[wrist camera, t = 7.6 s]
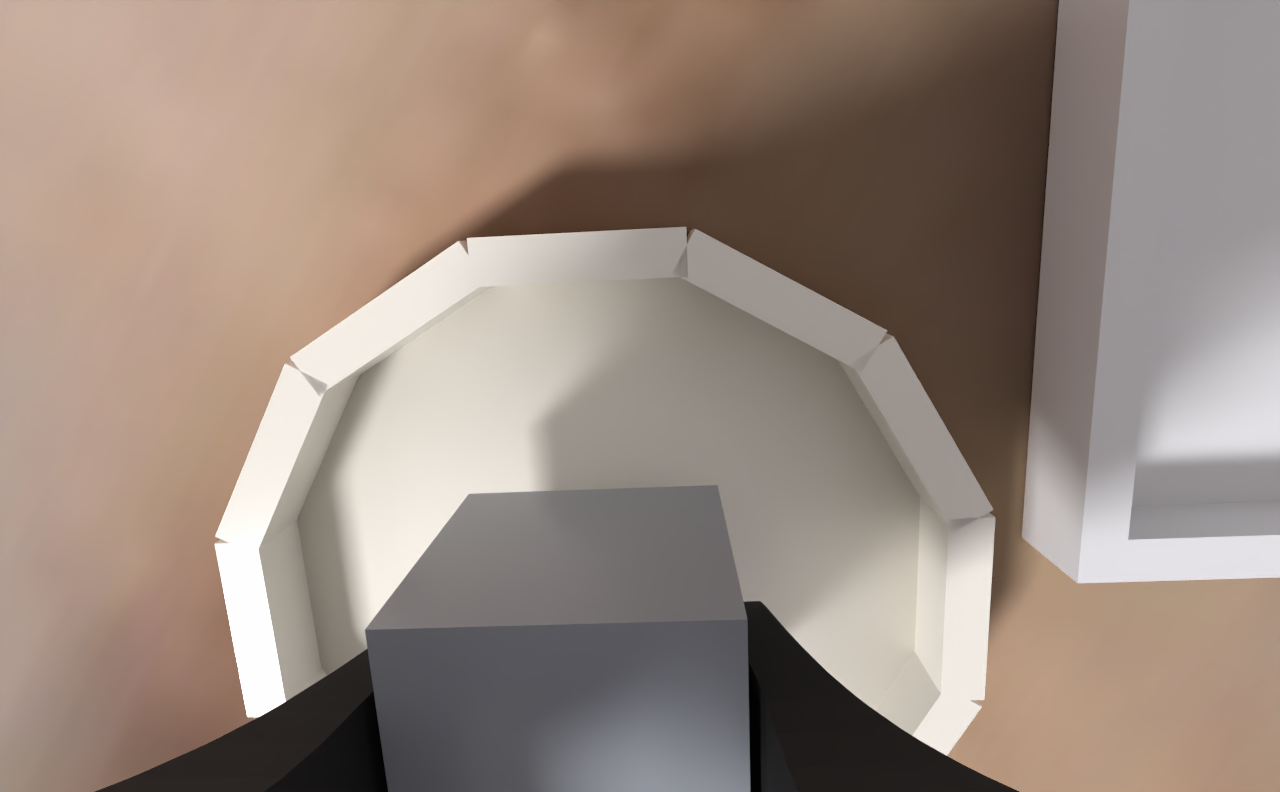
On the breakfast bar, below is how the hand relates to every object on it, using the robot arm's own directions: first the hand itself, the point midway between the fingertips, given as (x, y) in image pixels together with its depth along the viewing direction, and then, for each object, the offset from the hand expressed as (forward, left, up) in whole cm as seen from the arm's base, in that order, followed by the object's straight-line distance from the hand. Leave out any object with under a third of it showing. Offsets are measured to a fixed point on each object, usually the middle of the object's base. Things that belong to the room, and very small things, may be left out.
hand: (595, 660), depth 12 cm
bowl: (0, 0, -3) cm, 3 cm away
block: (0, 0, -1) cm, 1 cm away
